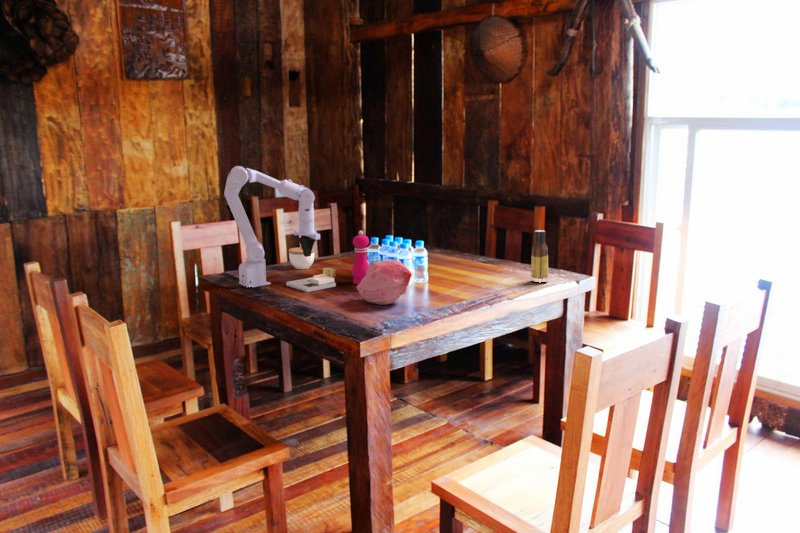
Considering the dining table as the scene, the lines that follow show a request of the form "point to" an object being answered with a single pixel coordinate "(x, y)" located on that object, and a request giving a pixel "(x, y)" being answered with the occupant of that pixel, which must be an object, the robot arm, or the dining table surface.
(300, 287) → the panel
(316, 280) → the cream flat block
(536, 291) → the dining table surface
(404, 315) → the dining table surface
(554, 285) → the dining table surface
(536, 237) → the sauce bottle
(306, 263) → the lidded jar
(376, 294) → the decorative rock
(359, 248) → the pepper mill
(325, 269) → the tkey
